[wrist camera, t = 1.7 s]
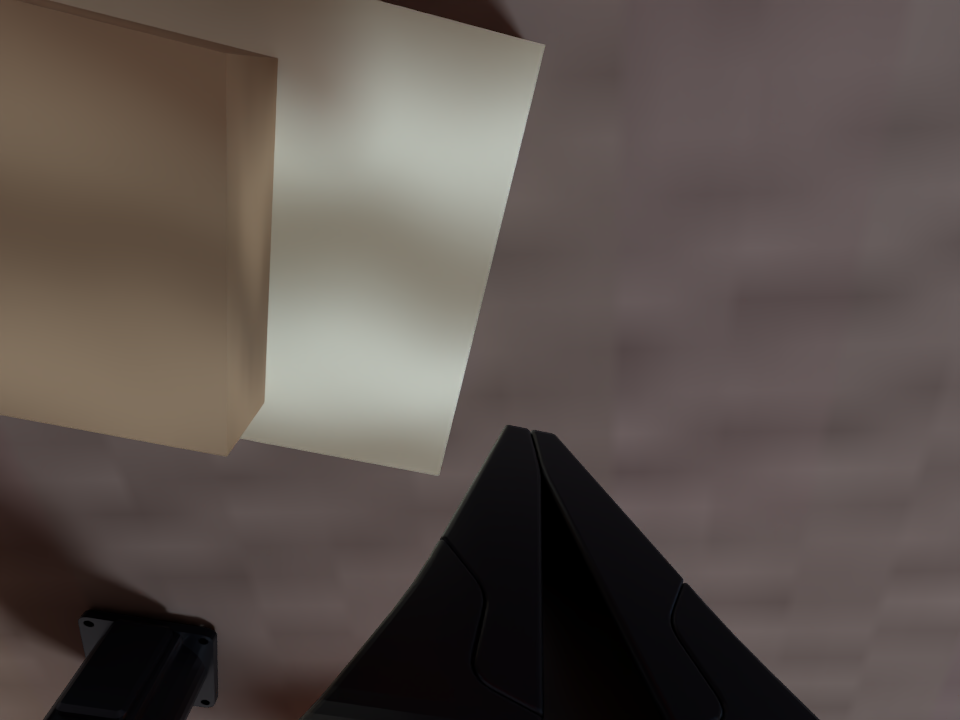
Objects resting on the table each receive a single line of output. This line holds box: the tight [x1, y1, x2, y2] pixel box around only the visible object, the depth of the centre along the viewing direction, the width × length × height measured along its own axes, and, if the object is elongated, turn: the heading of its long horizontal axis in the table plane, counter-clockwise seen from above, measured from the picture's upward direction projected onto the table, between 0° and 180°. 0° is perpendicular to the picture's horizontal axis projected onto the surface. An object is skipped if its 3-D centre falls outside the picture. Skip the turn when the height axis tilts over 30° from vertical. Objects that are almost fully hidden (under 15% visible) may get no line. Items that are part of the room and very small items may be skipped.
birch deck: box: [50, 0, 545, 476], centre depth 15 cm, size 12×16×4 cm
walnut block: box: [0, 0, 278, 457], centre depth 12 cm, size 9×7×2 cm
